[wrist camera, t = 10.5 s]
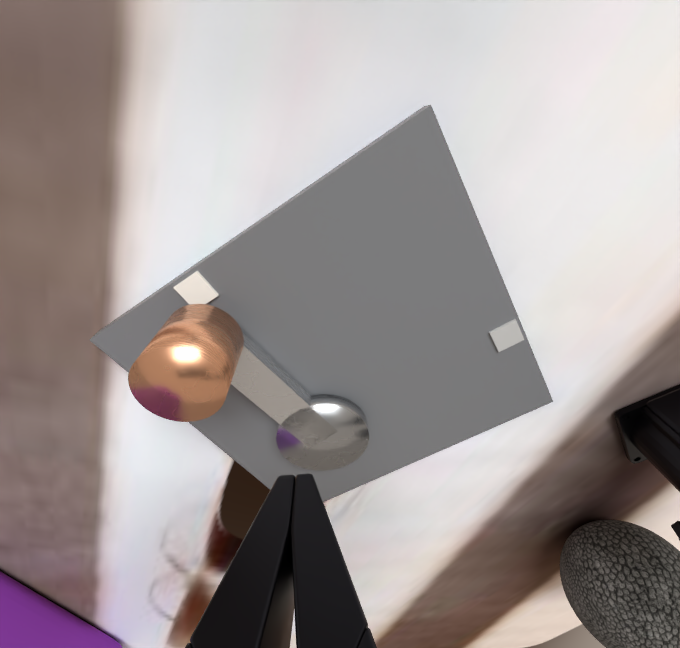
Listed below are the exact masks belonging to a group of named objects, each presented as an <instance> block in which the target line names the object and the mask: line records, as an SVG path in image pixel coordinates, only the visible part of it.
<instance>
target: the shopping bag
mask: <svg viewBox="0 0 680 648" xmlns="http://www.w3.org/2000/svg"><path fill="white" fill-rule="evenodd" d="M0 648H122V646H121V645H120V643H118V642H117V641H116V640H114V639H113V638H111V637H110V636H108V635H106V634H105V633H103V632H101V631H100V630H98V629H96V628H95V627H93V626H91V625H90V624H88V623H86V622H85V621H83V620H81V619H80V618H78V617H76V616H74V615H73V614H71V613H69V612H68V611H66V610H64V609H63V608H61V607H59V606H58V605H56V604H54V603H53V602H51V601H49V600H48V599H46V598H44V597H42V596H41V595H39V594H37V593H36V592H34V591H32V590H31V589H29V588H27V587H26V586H24V585H22V584H21V583H19V582H17V581H16V580H14V579H12V578H10V577H9V576H7V575H5V574H4V573H2V572H0Z"/></svg>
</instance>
